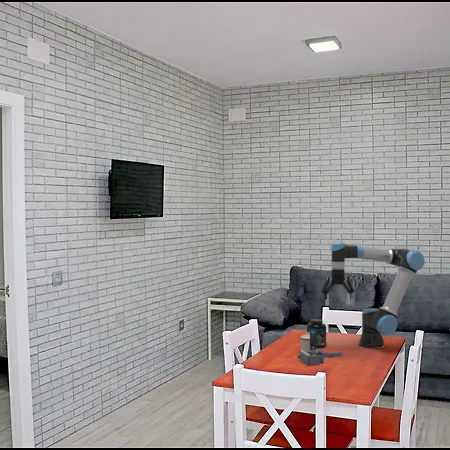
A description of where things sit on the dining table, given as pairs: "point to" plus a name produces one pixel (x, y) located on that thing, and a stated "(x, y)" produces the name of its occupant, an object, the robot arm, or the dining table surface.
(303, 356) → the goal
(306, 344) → the teacup with lid
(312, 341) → the kicker
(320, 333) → the container
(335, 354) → the rail
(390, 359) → the dining table surface
